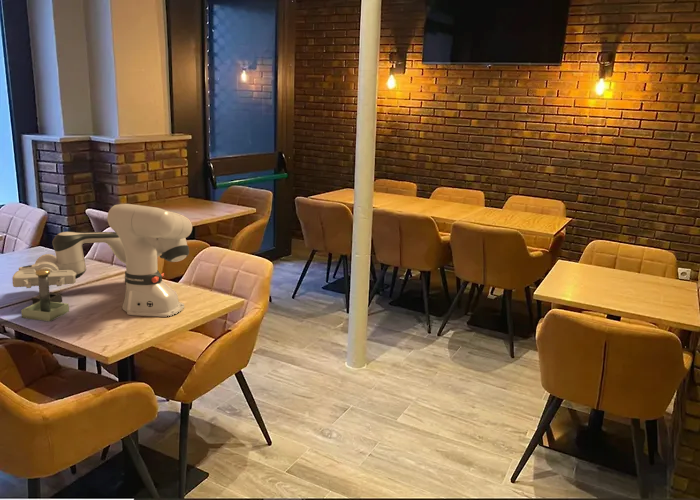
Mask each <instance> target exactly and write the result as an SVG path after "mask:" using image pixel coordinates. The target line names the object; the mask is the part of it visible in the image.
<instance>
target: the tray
mask: <svg viewBox="0 0 700 500" xmlns="http://www.w3.org/2000/svg"><path fill="white" fill-rule="evenodd" d="M50 306H51V311H50V312H43V311H41V310H40V301H39V302H37V303H35V304H33V303H32V304H31V305H28V306H27V307H24V308H23V309H21V319H28V320H35V321H44V322H52V321H54V320H56V319H57V318H60V317H61V316H64V315H65V314H67V313H69V312H70V308H69V307H70V305H69V303H67V302H66V303H65V302H61V303H59V302H51V301H50Z"/></svg>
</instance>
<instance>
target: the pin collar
mask: <svg viewBox="0 0 700 500" xmlns="http://www.w3.org/2000/svg"><path fill="white" fill-rule="evenodd" d="M39 301H40V297H39V294H38V295H36V296H33V297H32V298H31V303H32V305H33V304H35V303H37V302H39ZM50 301H51V302H59V303H63V294H61V293H56V292H55V293H54V292H50Z"/></svg>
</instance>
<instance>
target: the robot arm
mask: <svg viewBox="0 0 700 500" xmlns="http://www.w3.org/2000/svg"><path fill="white" fill-rule="evenodd" d="M106 218H107V220H106V221H107V223H108V226H109V227H110V228H111V229H112V231H86V232H75V231H62V232H59V233H57V234H56V235H55V236H54V238H53V240H52V241H51V244H52V246H53V250H54V252H55V253H54V254H55V255H54V254H51V253H46V254H43V255H40V256H39V257H38V258H36V261H35V263H33V264H30V265H23V266H20V267H18V270H16V271H15V273H14V274H12V275H13V276H12V278H11V279H12V286H13V288H24V287H25V288H26V289H32V287H39V284H38V276H37V275H36V270H39V269H49V270H50V274H49V275H48V278H49V287H50V286H55V285H56V287H62V285H73V284H75V283H76V280H77V279H78V278H81V276H83V274H85V273H86V271H87V267H86V266H87V265H86V260H85V256H84V250H83V244H92V243H93V244H95V243H96V244H99V243H103V244H106V245H107V246H109V248H110V249H111V251H112V253H113V254H114V256H115V257H116V259H118V260H119V261H120V262H121V263H123V264H124V265H125V272H124V284H125V294H124V300H123V304H122V306H121V308H122V310H123V311H124V312H126V313H127V314H126V315H128V316H142V317H143V316H144V317H160V318H164V317H165V318H169V316H170V317H173V316H175V315H174V314H176V315H177V313H178V312H179V313H181V312H182V311H183V310H184V309H185V307H184V306H185V303H184V302H181V301H179V297H178V296H179V295H178V293H177V291H176V290H175V289H173V288H172V286H171V287H170V286H169V285H168V284H167V283H166V282H164V281H163V277H164V276H165V273H164V272H162V273H160V272H159V270H158V257H159V258H160V259H161V260H162V259H163V260H165V261H167V262H169V263H175V262H176V263H177V262H181V261H183V260H184V259H186V258H187V257H188V256H189V255H190V247H189V245H188V242H187V239H186V238H189V236H190V235H191V234H192V231H193V224H192V222H191V220H190V219H189V218H188V217H187V216H185V215H183V214H181V213H178V212H175V211H170V210H166V209H163V208H161V207H155V206H154V207H153V206H148V205H140V204H131V203H120V204H119V203H118V204H114V205H113V206H112V207H110V209H109V210H108V212H107V217H106ZM183 308H184V309H183ZM182 309H183V310H182ZM181 310H182V311H181ZM180 311H181V312H180ZM179 313H178V314H179ZM172 315H173V316H172ZM167 316H168V317H167Z"/></svg>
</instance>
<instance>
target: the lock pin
mask: <svg viewBox="0 0 700 500" xmlns="http://www.w3.org/2000/svg"><path fill="white" fill-rule="evenodd" d="M49 274H50V270H49V269H39V270H36V275H37V276H38V284H39V286H38V295H39V297H40V310H41V311H43V312H50V311H51V306H50V293H51V292H50V286H49V278H48V275H49Z"/></svg>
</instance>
